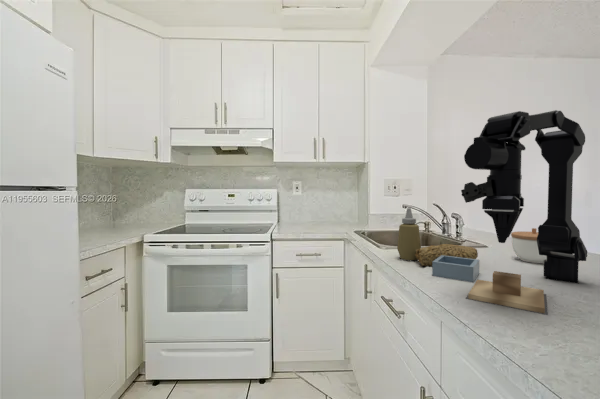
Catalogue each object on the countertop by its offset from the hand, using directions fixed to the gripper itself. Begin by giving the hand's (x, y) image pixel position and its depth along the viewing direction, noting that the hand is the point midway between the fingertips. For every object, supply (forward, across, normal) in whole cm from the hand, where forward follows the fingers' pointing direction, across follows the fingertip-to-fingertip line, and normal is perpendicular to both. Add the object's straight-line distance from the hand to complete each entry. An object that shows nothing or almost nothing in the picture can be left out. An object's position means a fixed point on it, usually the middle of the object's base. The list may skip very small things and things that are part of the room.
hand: (504, 239), depth 67 cm
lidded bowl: (+13, -47, +4) cm, 49 cm away
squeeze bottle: (+13, -24, -30) cm, 41 cm away
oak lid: (+13, 0, +1) cm, 13 cm away
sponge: (+14, -25, -17) cm, 33 cm away
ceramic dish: (+13, -11, -12) cm, 21 cm away
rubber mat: (+13, 0, +1) cm, 13 cm away
